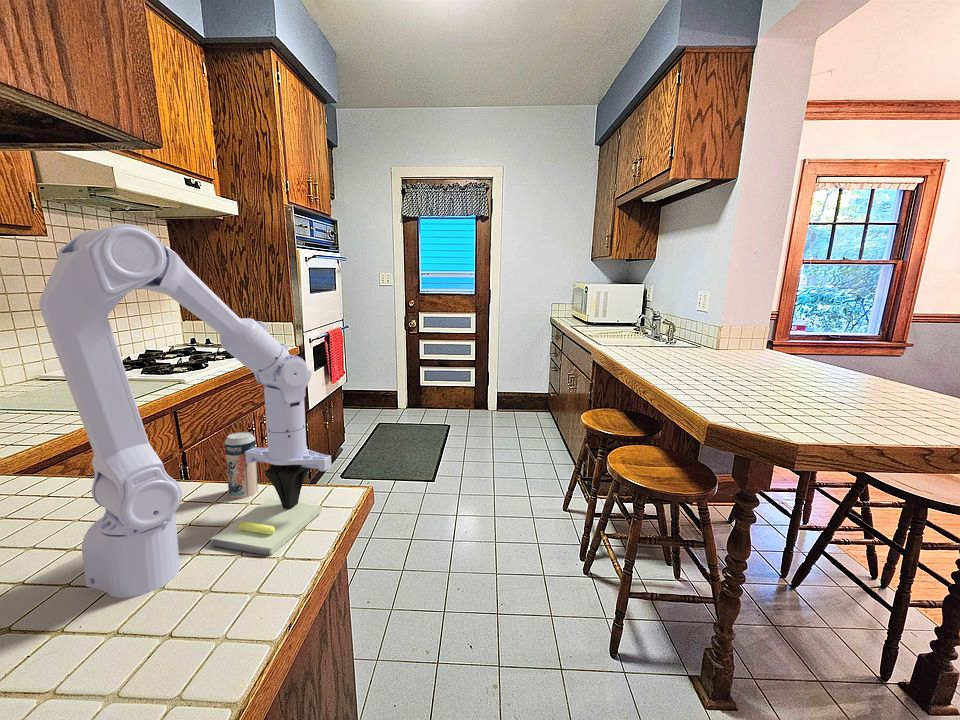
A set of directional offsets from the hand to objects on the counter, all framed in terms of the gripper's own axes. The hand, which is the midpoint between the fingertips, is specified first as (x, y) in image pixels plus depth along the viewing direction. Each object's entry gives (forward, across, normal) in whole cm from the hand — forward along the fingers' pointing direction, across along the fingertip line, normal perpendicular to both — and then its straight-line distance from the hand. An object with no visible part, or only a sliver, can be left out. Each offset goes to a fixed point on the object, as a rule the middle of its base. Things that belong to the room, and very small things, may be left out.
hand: (290, 506), depth 70 cm
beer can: (+2, +13, -4) cm, 14 cm away
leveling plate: (+1, 0, +5) cm, 5 cm away
